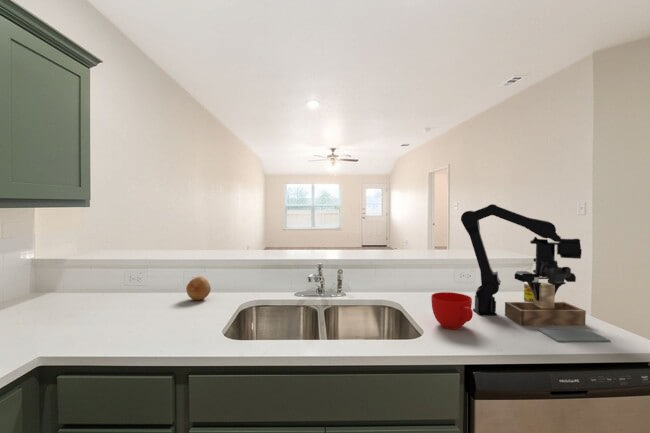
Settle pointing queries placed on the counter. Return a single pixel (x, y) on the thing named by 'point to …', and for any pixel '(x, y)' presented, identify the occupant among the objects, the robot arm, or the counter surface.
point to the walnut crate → (544, 314)
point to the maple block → (546, 296)
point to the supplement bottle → (528, 293)
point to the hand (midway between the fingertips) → (544, 300)
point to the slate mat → (573, 335)
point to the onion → (198, 288)
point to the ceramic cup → (451, 309)
